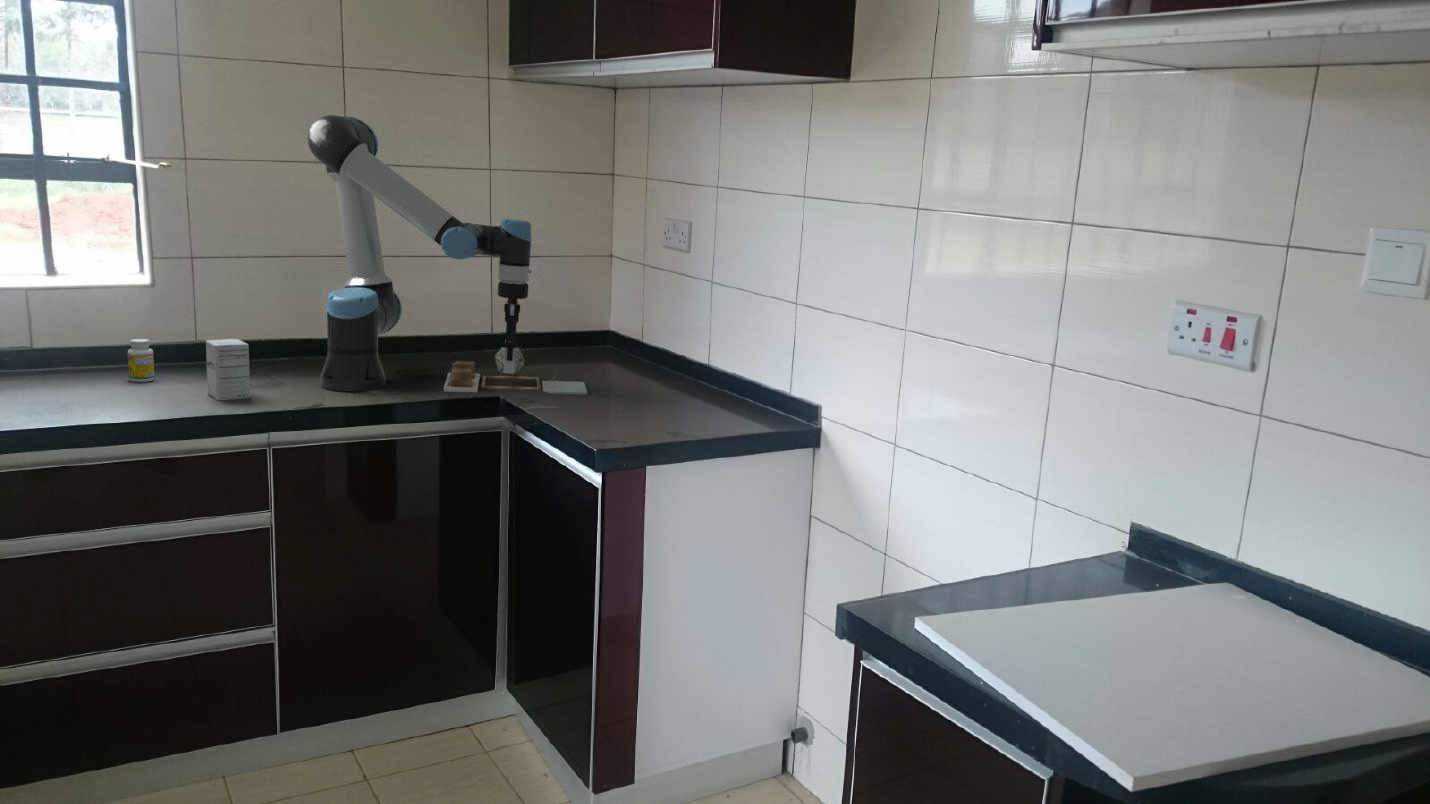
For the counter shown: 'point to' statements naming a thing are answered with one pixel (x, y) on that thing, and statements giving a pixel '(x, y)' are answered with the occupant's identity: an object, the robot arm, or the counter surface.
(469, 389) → the dish front
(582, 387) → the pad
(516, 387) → the oak frame
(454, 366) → the block back
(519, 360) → the game die
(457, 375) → the block front
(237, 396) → the supplement box
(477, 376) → the dish back
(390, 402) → the counter surface
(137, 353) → the supplement bottle
